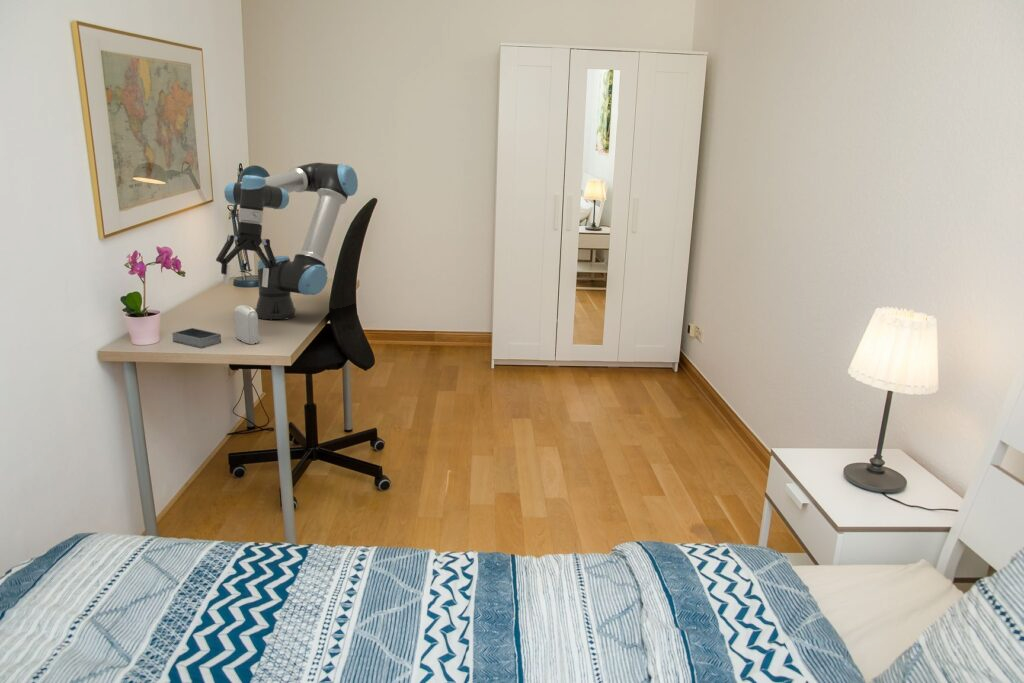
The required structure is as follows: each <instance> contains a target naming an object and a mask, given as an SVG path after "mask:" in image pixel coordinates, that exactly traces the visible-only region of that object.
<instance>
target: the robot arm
mask: <svg viewBox="0 0 1024 683" xmlns="http://www.w3.org/2000/svg"><path fill="white" fill-rule="evenodd" d="M358 183H359V181H358V176H357V173H356V171H355V169H354V167H352V166H350V165H349V164H347V165H346V164H343V163H338V164H337V163H326V162H312V163H306V164H302V165H299V166H294V167H291V168H290V169H289V170H288V171H286V172H282V173H278V174H274V175H270V176H266V177H265V176H264V177H262V176H257V175H252V174H251V175H250V174H245V175H243V176H242V177H241V182H229V183H228V184H226V186H225V188H224V198H225V200H226V201H227V202H228V203H229V204H231V205H237V206H239V209H238V210H239V212H238V220H239V221H240V222H238V224H237V226H238V227H237V235H235V234H234V235H233V234H228V235H227V239H226V242H225V243H224V245H223V246H222V249H221V250H220V252H219V254H218V255H217V257H216V259H215V261H216V262H218V263H219V264H221V268H220V272H221V273H220V274H221V275H223V277H222V284H223V285H226V286H228V285H229V282H230V270H231V265H230V264H229V263H230V262H231V261H232V260H233V259H234V258H235V257H236V256H237V255H238V254H239V253H240V252H241V251H252V252H255V253H256V254H257V257H258V258H259V260H258V262H257V279H258V281H257V282H258V299H257V303H256V307H255V309H254V310H255V311H256V313H257V315H258V319H259V318H262V319H261V320H264V319H270V320H269V321H273V320H272V319H284V320H287V319H286V318H289V319H293V318H294V316H295V315H296V316H297V312H296V310H297V309H296V308H295V306H294V303H293V300H292V295H291V293H294V294H301V295H305V296H309V295H310V296H314V295H317V294H320V293H321V292H322V291H323V290H324V288H325V287H326V285H327V283H328V278H329V276H328V270H327V268H326V263H325V261H324V256H325V255H326V251H327V248H328V245H329V242H330V239H331V236H332V233H333V230H334V227H335V225H336V221H337V218H338V215H339V213H340V209H341V205H344V204H346V202H347V200H348V198H349V197H351V196H354V195H355V194H356V192H357V191H358V186H359V184H358ZM293 192H295V193H304V192H311V193H312V192H313V193H317V195H318V197H319V198H318V201H317V203H316V206H315V209H314V213H312V214H313V215H312V218H311V221H310V224H309V227H308V230H307V232H306V236H305V238H304V242H303V244H302V248H301V250H300V252H298V253H296V254H295V255H294V258H293V260H291V258H290V257H289V256H288V255H279V256H278V255H276V256H275V255H274V253H273V250H272V248H271V240H270V239H269V238H264V239H263V238H262V231H263V225H262V223H263V219H264V218H263V216H264V208H265V209H266V208H267V209H268V208H269V209H274V210H283V209H285V208H286V207H287V206H288V205H289V203H290V195H289V194H290V193H293ZM235 242H237V244H236V245H235V246H234V248H233V249H232V250H231V247H232V246H233V245H234V243H235ZM261 244H262V245H263V248H264V251H265V253H266V255H265V253H264V252H263V249H262V248H261V246H260V245H261ZM229 251H230V252H229ZM296 316H295V317H296ZM292 317H293V318H292Z"/></svg>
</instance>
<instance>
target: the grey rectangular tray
mask: <svg viewBox="0 0 1024 683" xmlns="http://www.w3.org/2000/svg"><path fill="white" fill-rule="evenodd" d="M221 335H222V334H221V333H218V332H213V331H209V330H204V329H199V328H194V327H190V328H186V329H183V330H179V331H174V332H172V342H173V343H179V344H183V345H187V346H191V347H196V348H200V349H203V347H204V348H207V347H210V345H211V346H215V345H218V344H220V343H222V336H221ZM206 346H207V347H206Z"/></svg>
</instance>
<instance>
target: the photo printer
mask: <svg viewBox="0 0 1024 683" xmlns="http://www.w3.org/2000/svg"><path fill="white" fill-rule="evenodd" d="M234 325H235V328H234V329H235V338H236V339H237V340H238V339H239V341H240V340H241V342H243V343H246V344H247V345H256V344H258V343H259V342H260V338H259V318H258V315H257V313H256V311H255V309H254V308H253V307H251V306H249V305H245V304H243V305H237V306H236V307H235V309H234ZM255 343H256V344H255Z"/></svg>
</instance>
